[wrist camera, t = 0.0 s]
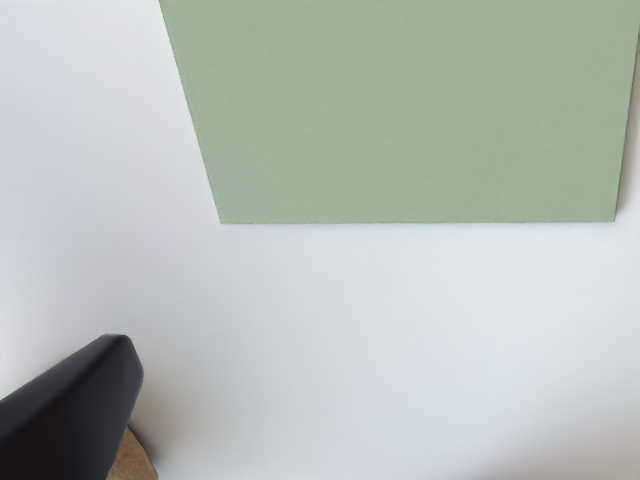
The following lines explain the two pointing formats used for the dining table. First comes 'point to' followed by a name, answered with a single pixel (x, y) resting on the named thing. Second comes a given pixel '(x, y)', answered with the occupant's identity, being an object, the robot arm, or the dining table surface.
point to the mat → (408, 107)
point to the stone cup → (132, 461)
